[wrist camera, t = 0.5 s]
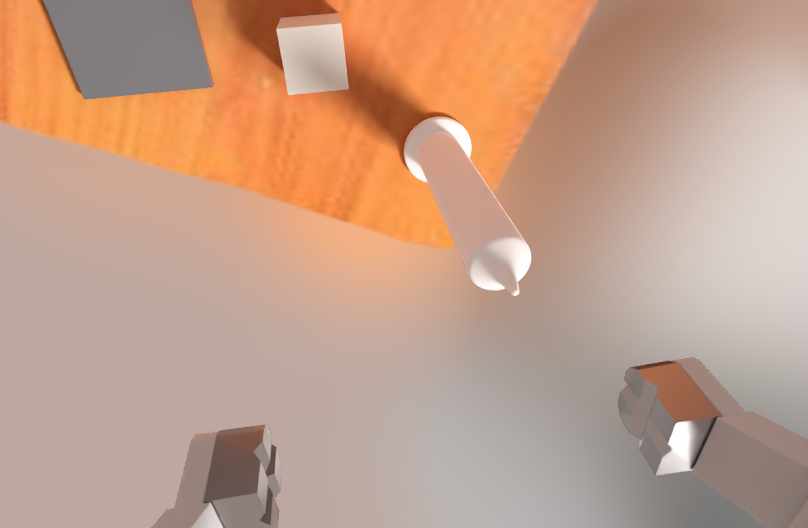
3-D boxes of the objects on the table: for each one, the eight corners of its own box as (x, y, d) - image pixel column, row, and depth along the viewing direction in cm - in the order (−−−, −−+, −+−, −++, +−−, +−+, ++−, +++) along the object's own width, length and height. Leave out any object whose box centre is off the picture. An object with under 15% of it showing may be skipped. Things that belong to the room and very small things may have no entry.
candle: (398, 178, 53) (450, 334, 32) (409, 111, 49) (476, 242, 29) (461, 183, 54) (550, 337, 34) (476, 119, 51) (586, 249, 30)
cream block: (280, 17, 43) (276, 28, 38) (338, 12, 43) (341, 23, 38) (291, 77, 46) (288, 95, 41) (345, 72, 46) (348, 89, 41)
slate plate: (27, -49, 38) (22, -49, 37) (175, -60, 39) (173, -60, 38) (87, 96, 44) (84, 99, 43) (213, 84, 45) (212, 87, 44)
